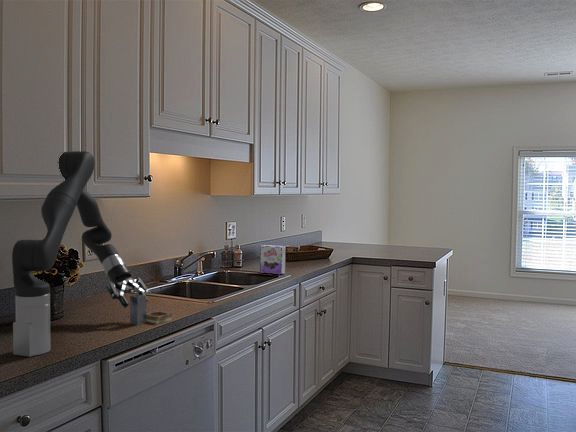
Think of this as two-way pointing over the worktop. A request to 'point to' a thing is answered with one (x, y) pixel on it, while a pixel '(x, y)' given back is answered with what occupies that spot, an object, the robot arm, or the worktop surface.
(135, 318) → the grey tall block
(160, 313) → the socket
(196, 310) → the worktop surface
